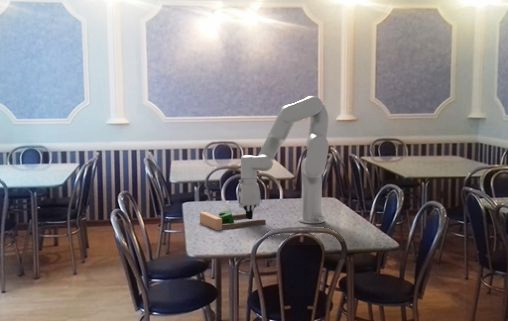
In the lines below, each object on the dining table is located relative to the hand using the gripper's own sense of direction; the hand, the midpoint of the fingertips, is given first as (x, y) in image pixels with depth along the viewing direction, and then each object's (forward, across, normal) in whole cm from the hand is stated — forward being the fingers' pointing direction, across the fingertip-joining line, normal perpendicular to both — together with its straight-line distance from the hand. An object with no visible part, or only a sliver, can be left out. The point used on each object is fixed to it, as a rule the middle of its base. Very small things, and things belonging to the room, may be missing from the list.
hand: (249, 218), depth 294 cm
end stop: (+1, -20, 0) cm, 20 cm away
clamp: (+2, -12, +1) cm, 12 cm away
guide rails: (+1, -7, 0) cm, 8 cm away
